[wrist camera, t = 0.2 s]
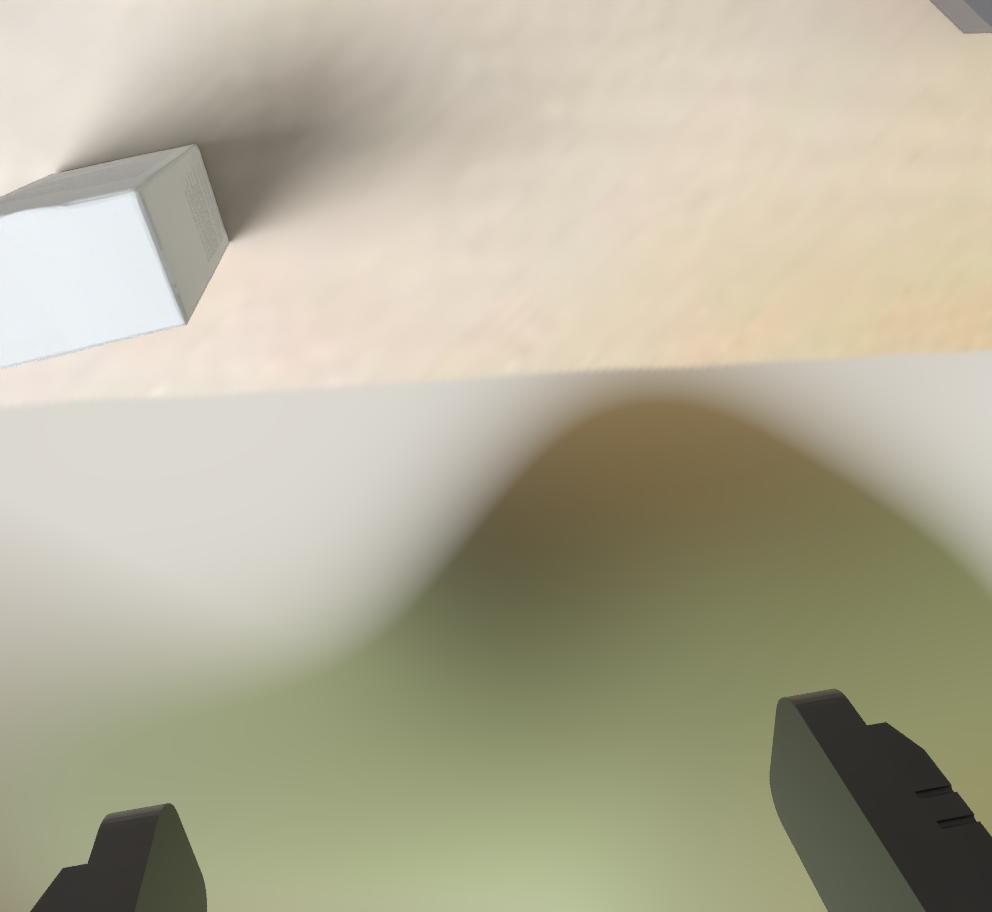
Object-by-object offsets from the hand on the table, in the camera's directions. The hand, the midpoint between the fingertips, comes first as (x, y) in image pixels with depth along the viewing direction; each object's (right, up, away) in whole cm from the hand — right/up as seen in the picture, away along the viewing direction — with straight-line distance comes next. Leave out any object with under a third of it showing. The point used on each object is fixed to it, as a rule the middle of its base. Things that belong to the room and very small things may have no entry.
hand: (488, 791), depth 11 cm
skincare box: (-14, +15, +23) cm, 31 cm away
